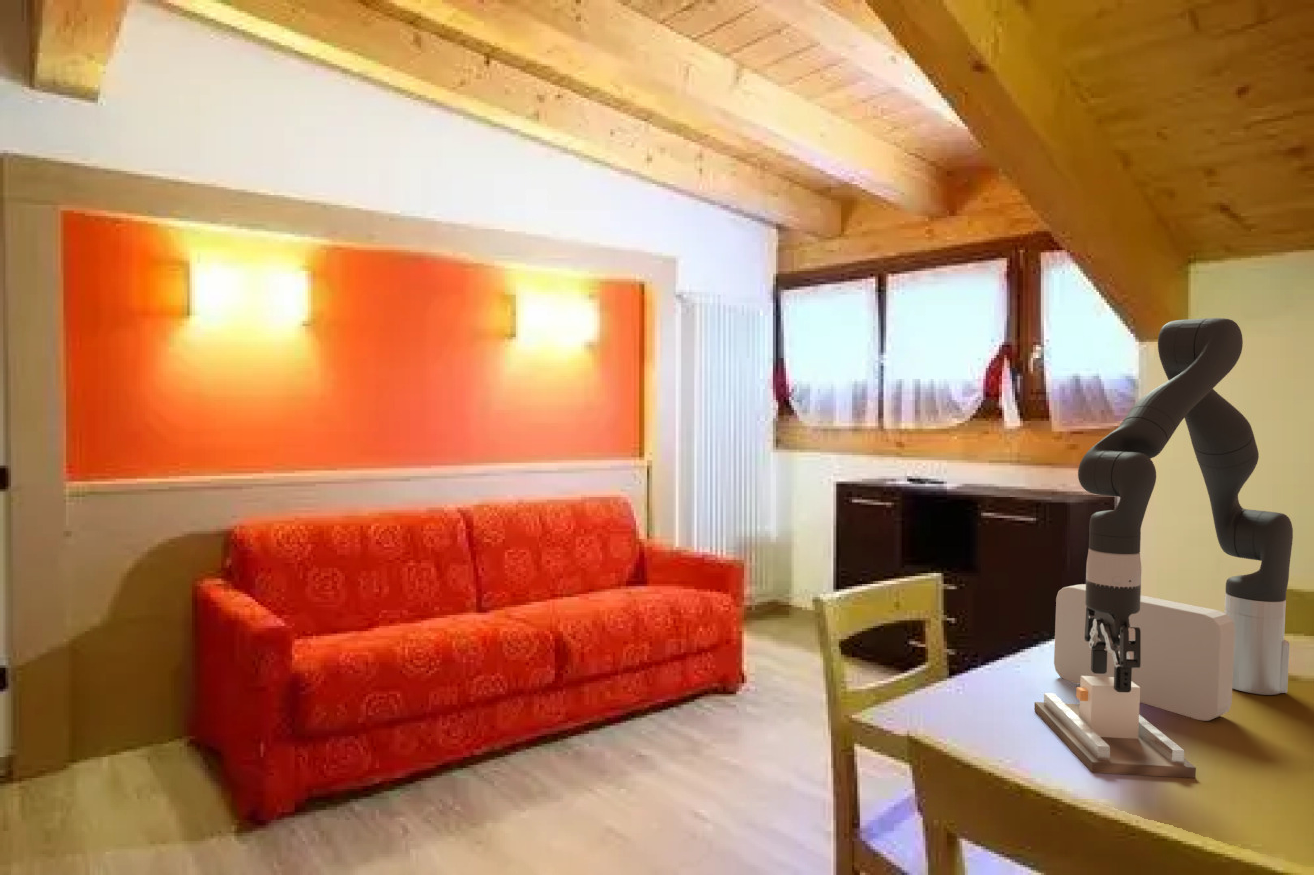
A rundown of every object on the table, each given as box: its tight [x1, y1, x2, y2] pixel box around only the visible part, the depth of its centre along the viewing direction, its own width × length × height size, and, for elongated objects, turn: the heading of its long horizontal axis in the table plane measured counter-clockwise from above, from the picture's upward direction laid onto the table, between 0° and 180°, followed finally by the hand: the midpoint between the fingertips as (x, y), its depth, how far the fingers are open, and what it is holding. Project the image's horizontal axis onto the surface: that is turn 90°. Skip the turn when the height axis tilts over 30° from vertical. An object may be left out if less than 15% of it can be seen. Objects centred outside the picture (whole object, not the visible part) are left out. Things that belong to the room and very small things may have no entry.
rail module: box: [1075, 676, 1141, 739], centre depth 131 cm, size 8×4×8 cm, turn 84°
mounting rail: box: [1043, 692, 1185, 764], centre depth 132 cm, size 12×22×2 cm, turn 174°
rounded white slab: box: [1053, 583, 1235, 722], centre depth 152 cm, size 29×8×18 cm, turn 33°
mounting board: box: [1033, 701, 1197, 779], centre depth 132 cm, size 14×24×2 cm, turn 174°
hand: (1110, 681), depth 131 cm, fingers open, 8 cm apart
